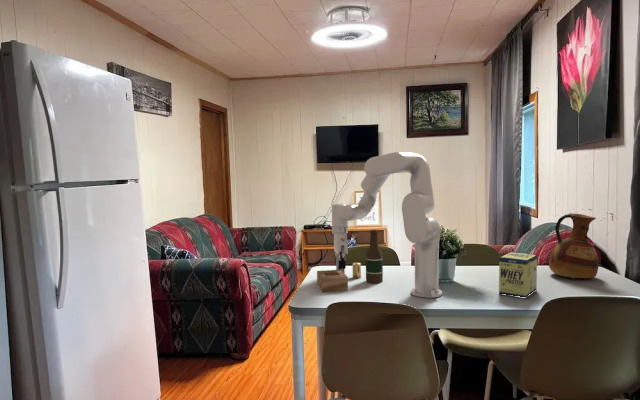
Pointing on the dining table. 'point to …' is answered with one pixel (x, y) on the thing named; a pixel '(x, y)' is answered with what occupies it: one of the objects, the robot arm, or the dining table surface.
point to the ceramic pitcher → (575, 250)
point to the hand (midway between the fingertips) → (340, 266)
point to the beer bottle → (374, 260)
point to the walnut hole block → (332, 280)
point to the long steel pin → (338, 263)
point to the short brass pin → (356, 270)
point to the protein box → (517, 274)
